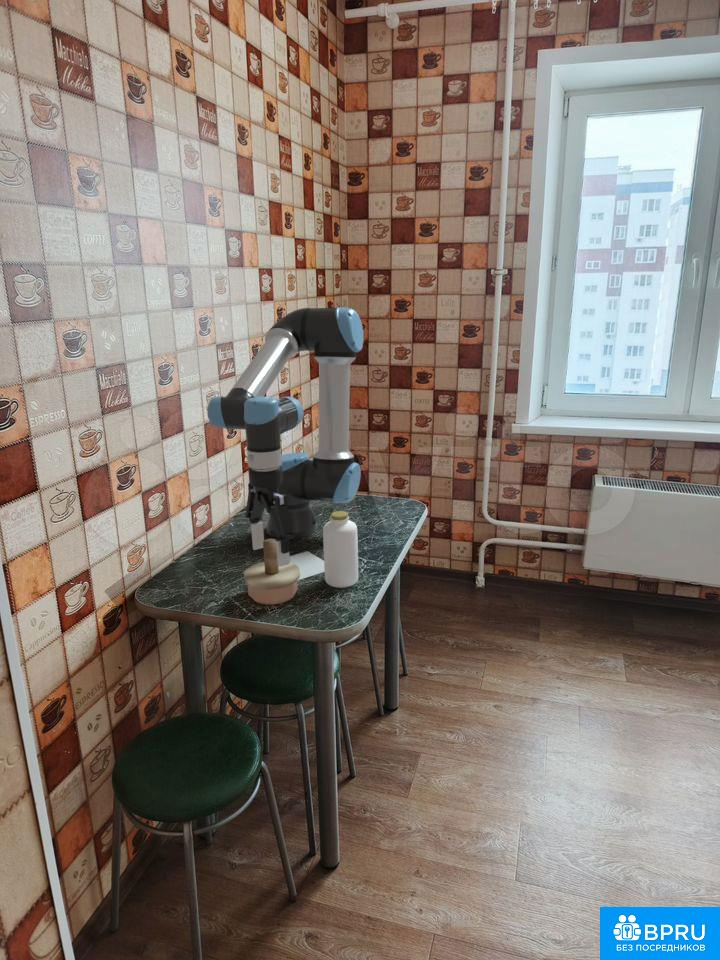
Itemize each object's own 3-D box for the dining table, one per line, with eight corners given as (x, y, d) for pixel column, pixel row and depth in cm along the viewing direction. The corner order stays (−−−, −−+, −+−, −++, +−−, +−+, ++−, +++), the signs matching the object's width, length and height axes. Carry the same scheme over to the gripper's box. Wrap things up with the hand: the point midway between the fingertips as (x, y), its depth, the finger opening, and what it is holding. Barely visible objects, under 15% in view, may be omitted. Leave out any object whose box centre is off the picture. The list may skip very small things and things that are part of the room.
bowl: (242, 594, 156) (241, 575, 155) (282, 581, 163) (281, 563, 161) (264, 611, 148) (262, 591, 147) (304, 597, 154) (303, 578, 153)
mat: (262, 565, 172) (262, 564, 172) (307, 552, 180) (307, 551, 180) (289, 584, 161) (288, 582, 161) (336, 569, 169) (335, 567, 169)
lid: (235, 574, 155) (232, 539, 153) (282, 560, 163) (280, 527, 160) (260, 594, 145) (257, 557, 143) (310, 578, 152) (308, 543, 150)
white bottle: (324, 575, 165) (321, 508, 160) (357, 573, 166) (355, 507, 161) (325, 590, 157) (322, 520, 152) (359, 588, 158) (358, 519, 153)
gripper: (226, 459, 153) (233, 544, 159) (276, 482, 135) (282, 578, 141) (255, 453, 157) (261, 537, 164) (307, 475, 139) (311, 569, 145)
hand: (270, 556), depth 152 cm, fingers open, 11 cm apart
